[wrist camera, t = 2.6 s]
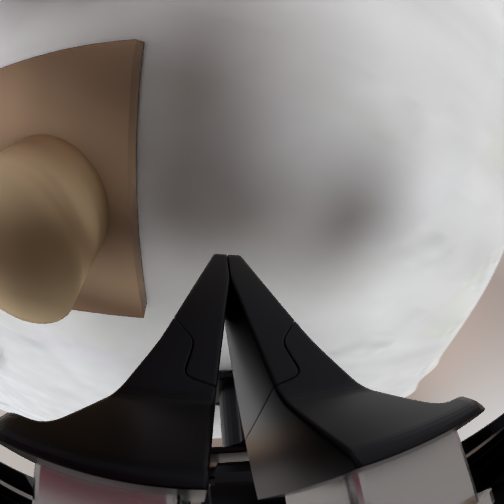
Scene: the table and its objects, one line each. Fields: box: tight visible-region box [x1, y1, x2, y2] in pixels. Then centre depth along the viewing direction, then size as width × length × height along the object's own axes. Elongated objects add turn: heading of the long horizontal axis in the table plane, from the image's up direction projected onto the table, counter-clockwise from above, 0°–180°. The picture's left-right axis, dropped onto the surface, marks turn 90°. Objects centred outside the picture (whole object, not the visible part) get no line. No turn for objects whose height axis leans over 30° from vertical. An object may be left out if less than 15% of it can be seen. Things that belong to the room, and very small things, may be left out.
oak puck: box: [0, 134, 109, 324], centre depth 9 cm, size 7×7×4 cm
